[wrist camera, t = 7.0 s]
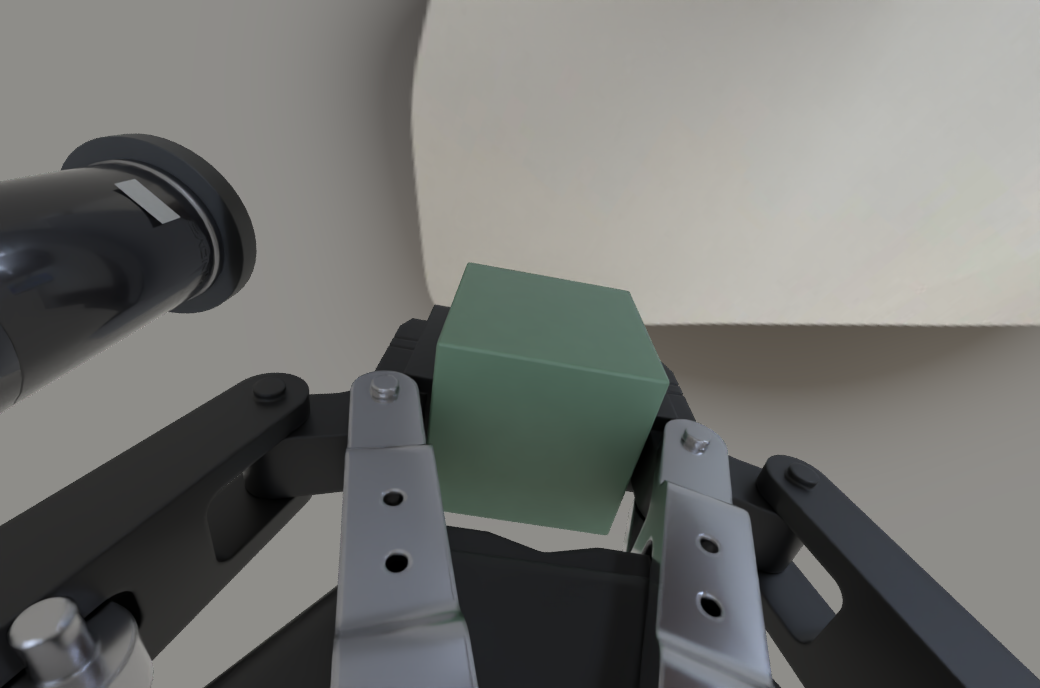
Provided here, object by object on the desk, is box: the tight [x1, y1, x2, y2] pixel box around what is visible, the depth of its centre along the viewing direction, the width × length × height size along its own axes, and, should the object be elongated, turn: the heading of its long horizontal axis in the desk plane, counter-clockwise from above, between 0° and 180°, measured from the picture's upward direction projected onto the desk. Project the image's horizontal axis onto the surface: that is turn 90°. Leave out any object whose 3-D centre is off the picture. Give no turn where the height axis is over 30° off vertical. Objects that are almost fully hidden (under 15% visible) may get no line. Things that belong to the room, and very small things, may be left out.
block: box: [426, 263, 669, 535], centre depth 11 cm, size 4×4×4 cm
